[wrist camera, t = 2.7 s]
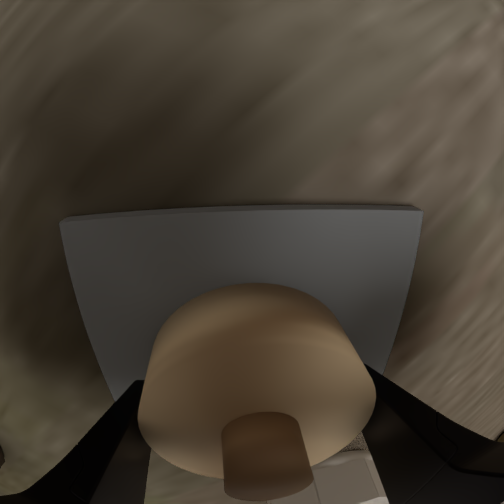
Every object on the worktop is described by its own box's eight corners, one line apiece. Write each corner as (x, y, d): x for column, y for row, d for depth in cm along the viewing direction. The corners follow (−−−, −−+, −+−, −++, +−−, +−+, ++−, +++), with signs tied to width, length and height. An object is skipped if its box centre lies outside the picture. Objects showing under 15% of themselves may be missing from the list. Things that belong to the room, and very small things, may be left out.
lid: (359, 275, 9) (443, 374, 5) (329, 413, 11) (361, 499, 7) (132, 288, 8) (80, 410, 4) (171, 426, 11) (165, 520, 7)
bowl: (391, 436, 15) (414, 483, 11) (359, 484, 18) (372, 520, 14) (267, 462, 14) (277, 520, 10) (263, 502, 17) (270, 543, 13)
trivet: (413, 206, 9) (423, 211, 8) (356, 420, 13) (360, 429, 12) (67, 216, 8) (58, 222, 7) (139, 436, 12) (137, 446, 11)
